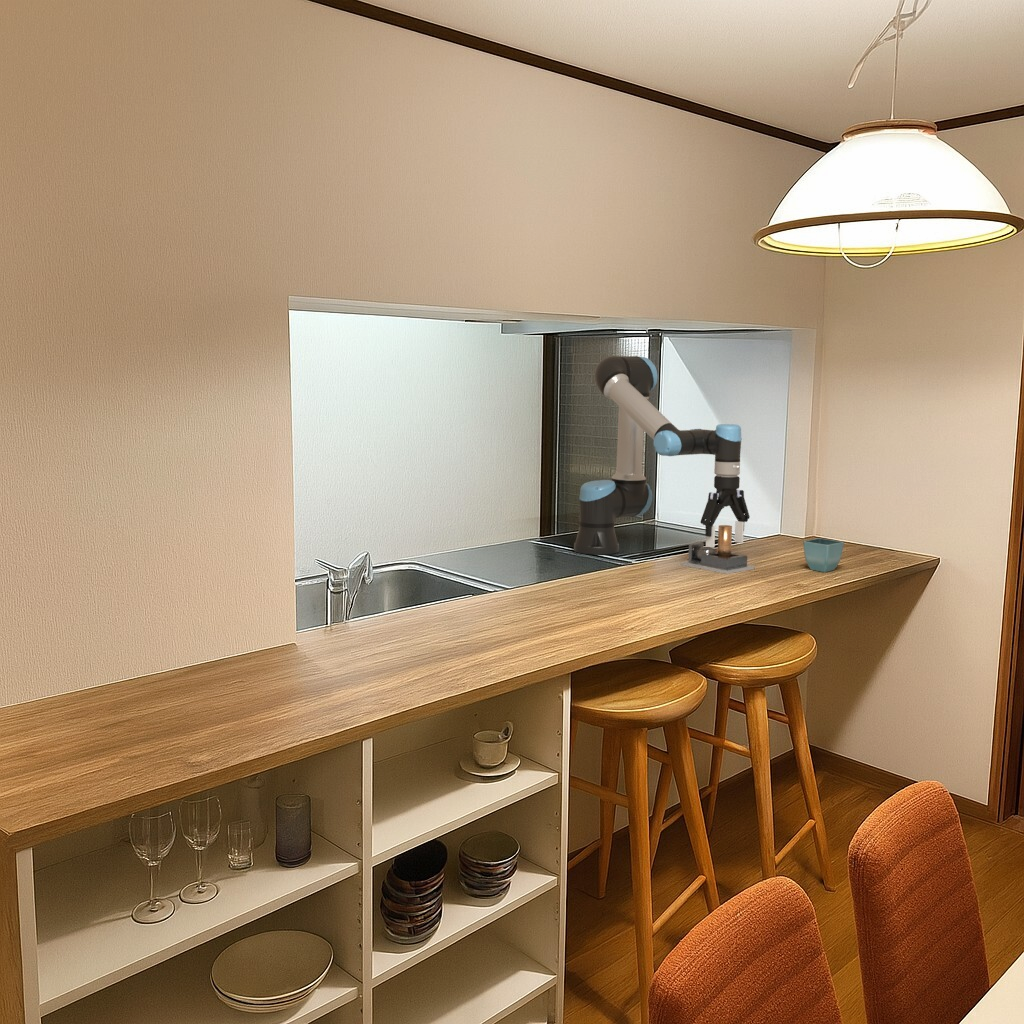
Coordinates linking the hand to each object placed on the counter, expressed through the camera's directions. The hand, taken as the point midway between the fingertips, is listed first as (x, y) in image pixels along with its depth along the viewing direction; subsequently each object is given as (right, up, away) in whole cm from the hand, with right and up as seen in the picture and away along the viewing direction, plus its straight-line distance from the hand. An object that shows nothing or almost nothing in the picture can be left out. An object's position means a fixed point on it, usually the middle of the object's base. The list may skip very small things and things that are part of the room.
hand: (724, 544), depth 298 cm
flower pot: (+29, -8, -2) cm, 30 cm away
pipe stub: (0, -6, +1) cm, 6 cm away
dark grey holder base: (-2, -7, +3) cm, 8 cm away
